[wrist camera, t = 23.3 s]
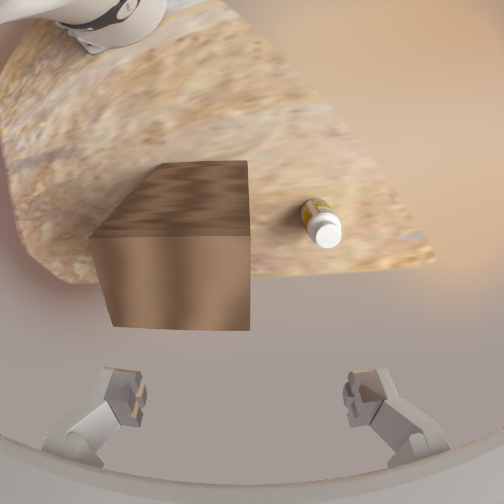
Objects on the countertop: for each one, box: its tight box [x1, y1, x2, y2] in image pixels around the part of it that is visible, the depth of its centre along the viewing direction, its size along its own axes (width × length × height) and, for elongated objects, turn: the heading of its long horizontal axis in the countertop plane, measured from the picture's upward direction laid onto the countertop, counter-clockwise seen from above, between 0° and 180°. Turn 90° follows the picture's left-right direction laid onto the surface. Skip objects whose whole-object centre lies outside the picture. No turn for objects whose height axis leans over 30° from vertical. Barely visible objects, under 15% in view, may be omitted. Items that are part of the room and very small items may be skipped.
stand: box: [89, 161, 250, 331], centre depth 41 cm, size 17×16×28 cm
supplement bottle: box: [301, 199, 341, 248], centre depth 50 cm, size 5×5×10 cm
